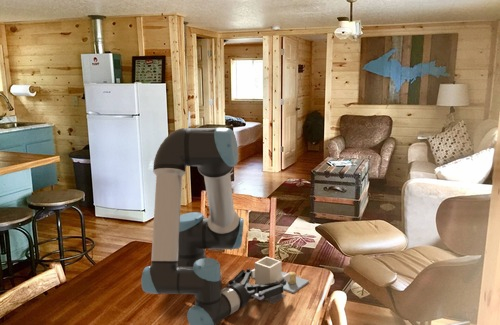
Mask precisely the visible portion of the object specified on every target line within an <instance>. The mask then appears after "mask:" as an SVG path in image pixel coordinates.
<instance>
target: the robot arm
mask: <svg viewBox="0 0 500 325" xmlns="http://www.w3.org/2000/svg"><path fill="white" fill-rule="evenodd" d="M238 163H239V149H238V141H237V138H236V134H235V132H234V131H233V129H231V128H228V127H220V126H219V127H208V128H207V127H196V128H195V127H194V128H193V127H191V128H189V127H184V128H183V127H182V128H179V129H178V128H177V129H176V130H173V131H172V132H171V133H169V135H167V137H165V138H164V140H163V141H162V142H161V144H160V146H159V147H158V149H157V152H156V154H155V158H154V162H153V170H152V172H153V174H154V175H155V176H156V178H155V179H156V180H155V197H154V209H153V211H154V212H153V213H154V214H153V227H152V228H153V230H152V244H151V245H152V246H151V259H150V260H151V263H150V265H148V266H145V267H144V268H143V271H142V274H141V280H140V283H141V289H142V291H143V292H144V293H146V294H154V295H155V294H156V295H162V294H163V295H169V294H170V295H174V294H175V295H194V299H195V304H194V305H193V304H192V306H191V307H189V309H188V311H187V314H186V316H187V321H188V323H189V325H217V324H219V323H220V322H222V321H223V320H224V319H226V318H228V317H229V316H231V315H232V314H233V313H235V312H237V311H239V310H241V309H242V308H243V307H246V306H247V305H248V303H249V301H250V300H253V299H256V300H258V302H259V303H262V302H263V301H265V299H267V298H270V297H273V296H275V295H278V294H281V293H282V294H284V290H283V286H284V285H286V283H287V282H289V281H290V274H289V273H288V272H286V273H287V274H285V275H284V276H282V277H281V278H279V279H277V280H276V282H274V283H269V284H263V285H259V284H256V285H255V284H251V283H250V280H251V279H252V280H253V279H254V278H255V268H252V269H250V268H246V270H245V269H242V270H240V271H239V272H238V273H237V274H236V275H235V276H234V278H233V279H231V280H229V281H228V286H227V287H224V288H223V289H222V274H221V264H220V262H219V261H218V260H217V259H215V258H212V257H207V255H206V250H230V251H232V250H238V249H240V248H241V247H242V243H243V233H244V221H245V220H244V218H243V217H240V216H239V214H238V213H237V212H236V211H235V206H234V197H233V186H232V179H231V178H232V177H231V172H232V171H233V169H234V167H235V166H237V164H238ZM187 167H197V170H198V172H199V174H200V175H202V176H203V178H204V185H205V191H206V197H207V203H208V204H207V205H208V209H209V214H208V217H205V216H204V214H203V213H202V212H199V211H198V212H197V211H193V212H187V213H184V214H181V204H182V184H183V183H182V180H183V176H185V174H186V170H187V169H186V168H187ZM256 288H257V293H256Z"/></svg>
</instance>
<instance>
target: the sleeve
mask: <svg viewBox="0 0 500 325" xmlns="http://www.w3.org/2000/svg"><path fill="white" fill-rule="evenodd" d="M282 266H283V265H282V260H278V259H276V258H272V257H269V256H267V255H266V256H265V257H262V258H261V259H259V260H258V261H255V262H254V269H255V279H254V285H256V284H259V285H263V284H269V283H274V282H276V280H277V279H279V278H281V277H282V270H283V269H282ZM256 293H257V288H256ZM281 294H283V293H281ZM281 294H278V295H275V296H273V297H270V298H267V299H265V300H267V301H269V302H268V303H270V302H271V301H272V300H274V299H275V298H277V297H278V296H280V295H281ZM265 300H264V301H265ZM267 301H266V302H267Z"/></svg>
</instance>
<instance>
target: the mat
mask: <svg viewBox="0 0 500 325" xmlns="http://www.w3.org/2000/svg"><path fill="white" fill-rule="evenodd" d="M285 297H287V295H286V294H284V293H282V294H281V295H280V296H278V297H277V298H275V299H274V300H272V301H271V302H269V301H267V300H264V301H265V302H268V303H270V304H272V305H275V304H276V303H278V302H280V301H281V300H283V298H285Z"/></svg>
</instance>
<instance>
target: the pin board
mask: <svg viewBox="0 0 500 325" xmlns="http://www.w3.org/2000/svg"><path fill="white" fill-rule="evenodd" d="M287 273H289V274H290V281H289V282H287V283H286V285H284V286H283V291H285V292H288V293H291V294H294V293H297V291H299V290H300V289H301V288H304V286H306V285H308V284H309V283H310V280H308V279H305V278H301V277H299V276H297V273H296V271H295V272H294V271H289V272H284V271H282V276H284V275H285V274H287ZM253 279H254V280H255V278H253Z"/></svg>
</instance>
